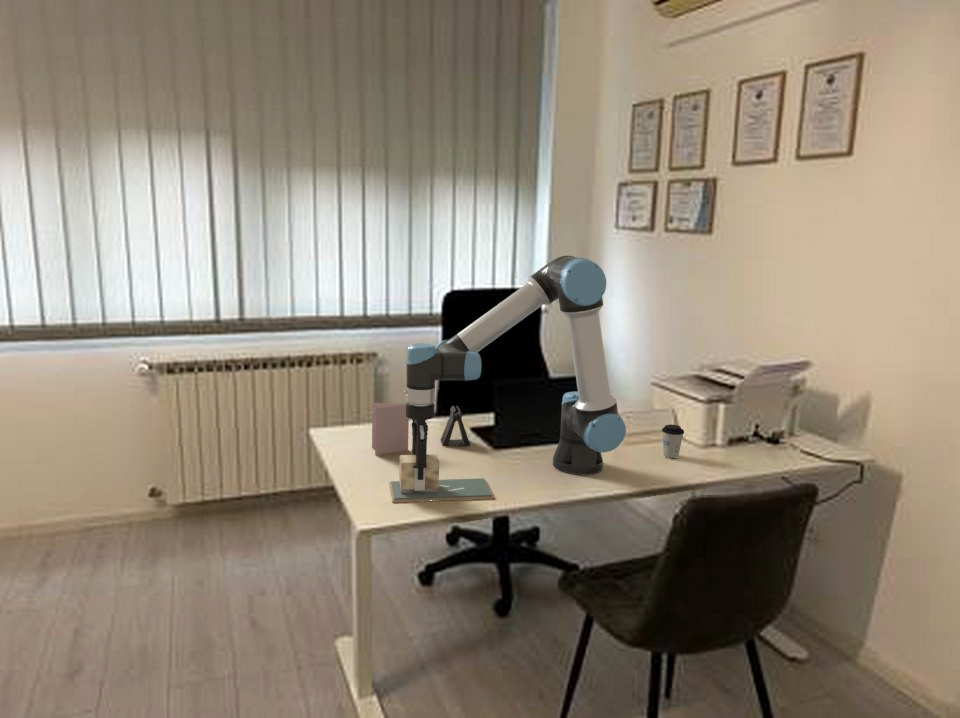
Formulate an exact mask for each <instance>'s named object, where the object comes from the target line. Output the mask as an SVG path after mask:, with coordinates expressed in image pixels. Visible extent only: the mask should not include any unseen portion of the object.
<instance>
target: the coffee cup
mask: <svg viewBox="0 0 960 718" xmlns="http://www.w3.org/2000/svg"><path fill="white" fill-rule="evenodd" d="M661 431H662V454H663V455H662V456H663V457H664V456H665V457H668V458H676V457H678V458H679V455H680V452H681V451H680V449H681V447H682V446H681V445H682V440H683V436H684V434H685V430H684V429H683V428H682V427H681V425H677V424H665V425H664V427H662V429H661ZM665 457H664V458H665ZM668 458H667V459H668Z"/></svg>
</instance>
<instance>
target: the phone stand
mask: <svg viewBox="0 0 960 718" xmlns="http://www.w3.org/2000/svg"><path fill="white" fill-rule="evenodd" d="M449 409H450V414H449V418H448V419H447V422H446V425H445V427H444V431H443V432H442V434H441V438H440V443H441V445H442V447H443V446H455V447H470V446H471V443H470V440H469V438H468V435H467V432H466V428H465V426H464V423H463V419H462V418H463V417H462V416H463V413H462V411H461V409H460V407H459V406H458V405H456V406H455V405H452V406H451V407H450V408H449ZM456 422H457V424H458V429H459V432H460V436H461V439H457V438H456V439H451V437H452V434H453V430H454V427H455V424H456Z"/></svg>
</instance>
